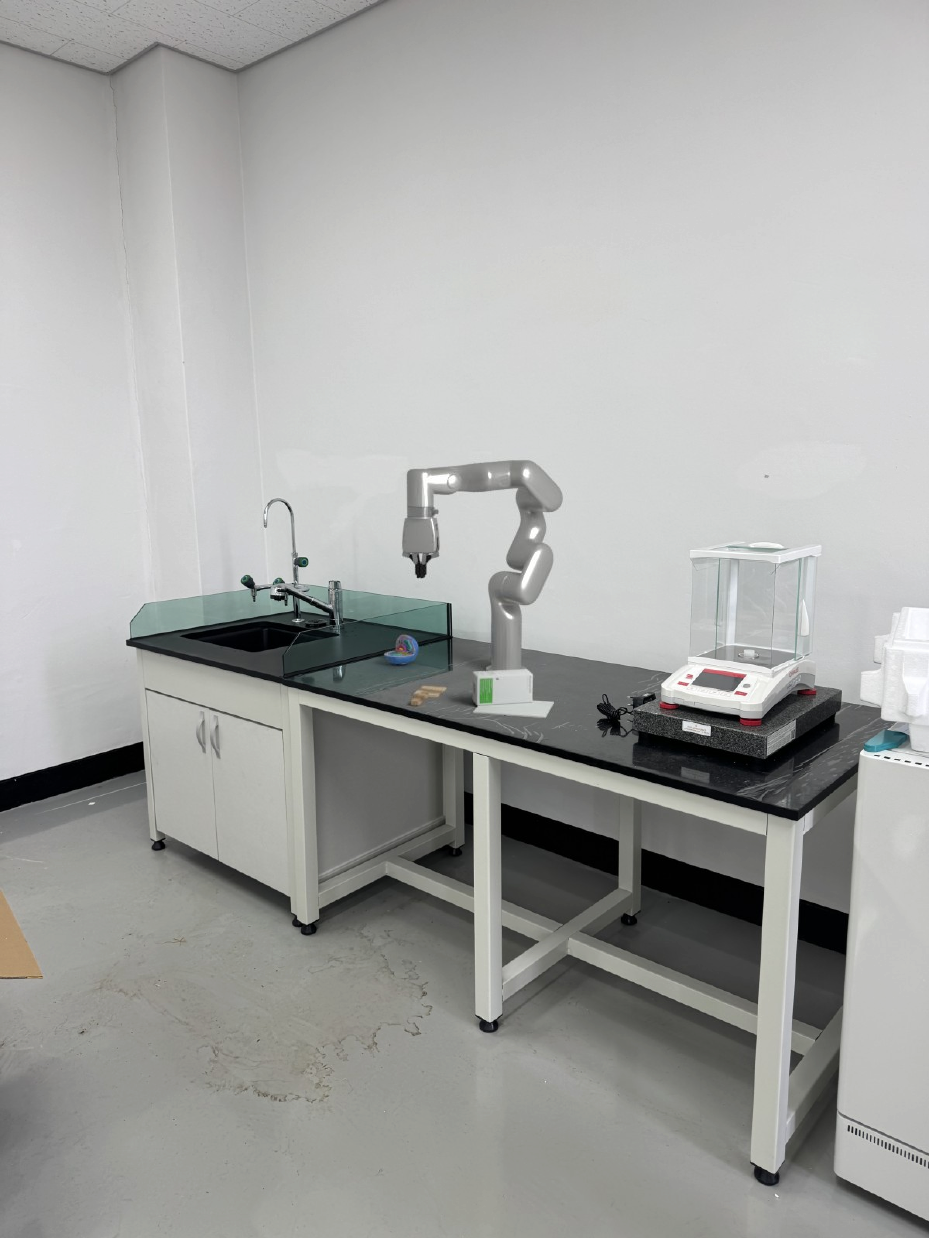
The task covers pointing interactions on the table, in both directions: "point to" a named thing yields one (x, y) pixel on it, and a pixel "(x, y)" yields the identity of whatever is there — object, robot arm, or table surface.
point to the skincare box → (502, 687)
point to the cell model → (403, 650)
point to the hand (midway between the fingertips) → (420, 577)
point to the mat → (517, 709)
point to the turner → (426, 693)
